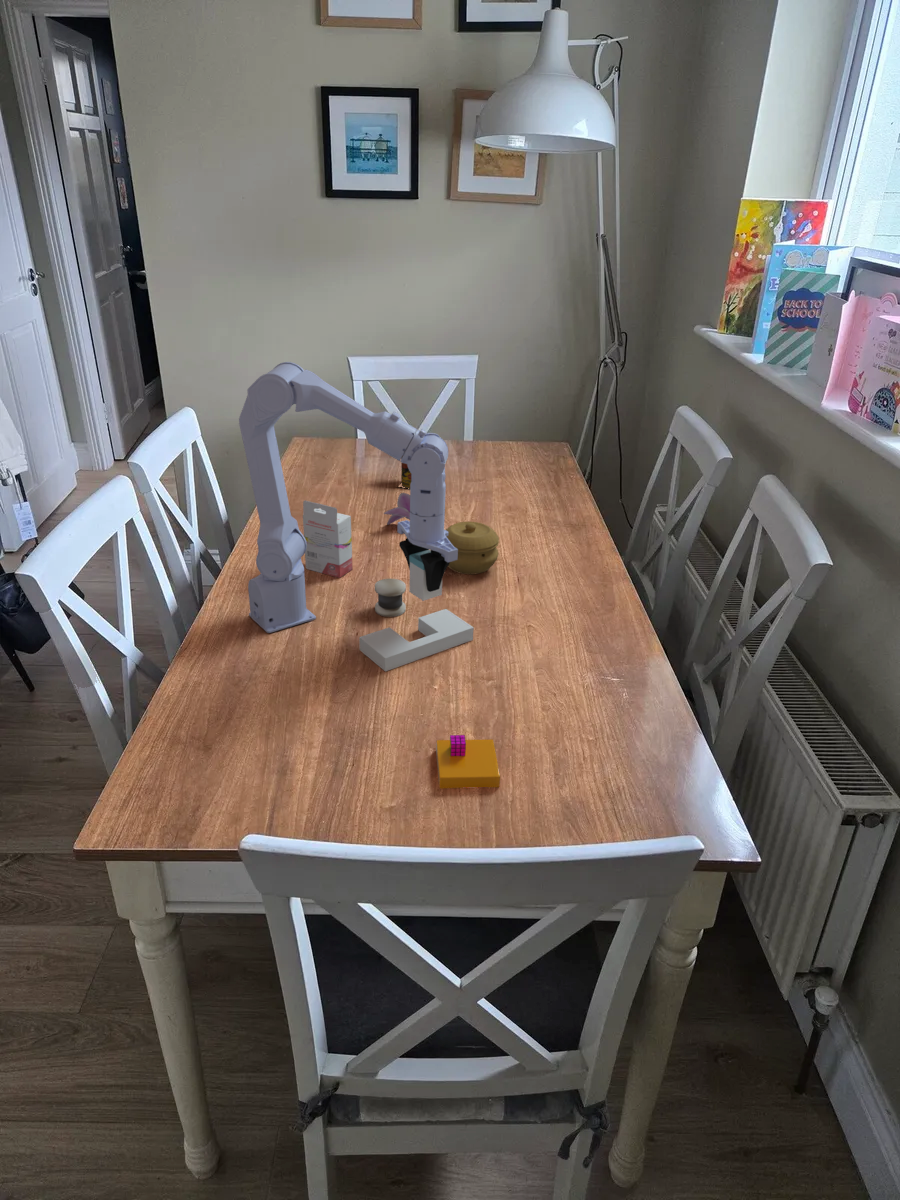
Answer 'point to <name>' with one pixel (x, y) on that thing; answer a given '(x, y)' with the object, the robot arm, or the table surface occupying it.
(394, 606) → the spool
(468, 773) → the mustard square tile
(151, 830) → the table surface
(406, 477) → the condiment
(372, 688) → the table surface
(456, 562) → the pot
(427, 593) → the teal and white block
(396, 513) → the lily
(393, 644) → the notched board
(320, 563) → the ink cartridge box
